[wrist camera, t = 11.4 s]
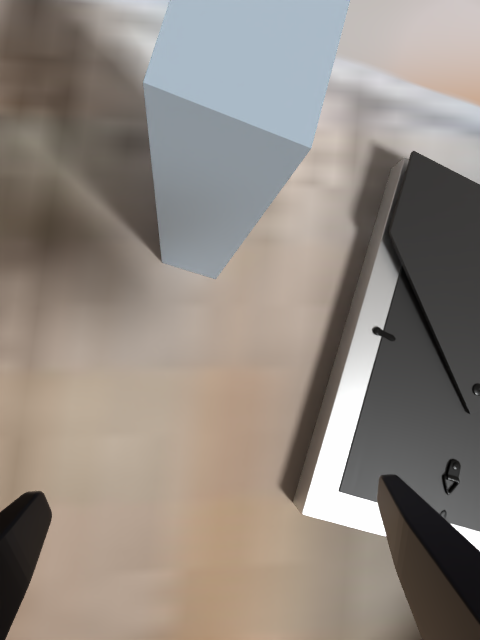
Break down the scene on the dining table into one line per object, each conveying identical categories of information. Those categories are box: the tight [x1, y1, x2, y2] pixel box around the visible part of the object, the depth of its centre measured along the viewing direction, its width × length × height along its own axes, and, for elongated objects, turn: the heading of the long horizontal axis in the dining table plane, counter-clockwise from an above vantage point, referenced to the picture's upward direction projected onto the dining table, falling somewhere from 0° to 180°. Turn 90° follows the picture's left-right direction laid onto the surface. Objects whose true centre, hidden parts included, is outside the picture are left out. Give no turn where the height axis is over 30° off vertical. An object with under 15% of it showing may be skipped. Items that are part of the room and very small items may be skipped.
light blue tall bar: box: [143, 0, 350, 279], centre depth 13 cm, size 5×3×14 cm, turn 165°
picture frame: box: [293, 151, 480, 551], centre depth 21 cm, size 16×3×21 cm
